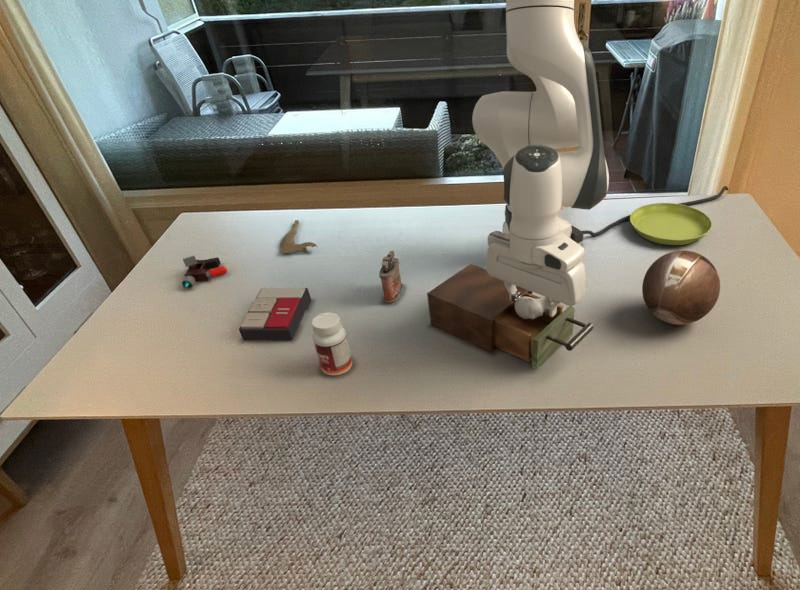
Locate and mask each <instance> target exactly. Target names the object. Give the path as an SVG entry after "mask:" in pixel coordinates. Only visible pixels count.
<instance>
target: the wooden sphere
mask: <svg viewBox="0 0 800 590" xmlns="http://www.w3.org/2000/svg"><path fill="white" fill-rule="evenodd" d="M641 292H642V298H643V301H644V303H645V306H646V307H647V309H648V310H649V311H650V313H651V314H652V315H653V316H654V317H656V318H657V319H658V320H660V321H662V322H664V323H667V324H671V325H677V326H678V325H679V326H680V325H689V324H693V323H695V322H698V321H699V320H701V319H703V318H704V317H705V316H707V315H708V314H710V312H711V311H712V309H714V307H715V306H716V304H717V301H718V299H719V296H720V292H721V280H720V276H719V273H718V269H716V267H715V265H714V264H713V263H712V262H711V260H709V259H708V258H707V257H705V256H704V255H702V254H701V253H698V252H695V251H691V250H684V249H683V250H674V251H670V252H668V253H665V254H663V255H661V256H660V257H658V258H657V259H656V260H654V261H653V262H652V264H651V265H650V266H649V267H648V269H647V270H646V272H645V274H644V277H643V280H642V287H641Z"/></svg>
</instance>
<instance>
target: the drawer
mask: <svg viewBox="0 0 800 590" xmlns="http://www.w3.org/2000/svg"><path fill="white" fill-rule="evenodd" d="M525 296H526V297H531V298H534V299H539V298H541V297H540V296H538V295H535V294H533V293H532V294H530V293H527V294H526V295H525ZM563 307H564V306H563V305H561V304H559V305H558V306H557V312H556V314H555V315H554V316H553V317H551V316H548V315H546V314H545V312H543V315H542V316H539V317H537V318H535V319H529V318H528V319H523V318H521V317H520V316H519V315H518V314H517V313H516V311H515V304H514V305H512V306H511V307H510V308H509V309H507V310H506V311H505V312H504V313H502V314H501V315H500V316H499V317H498V318H496V319H495V320H494V321H493V346H495V347H497V348H498V349H500V350H502V351H504V352H506V353H509V354H510V355H512V356H515V357H517V358H519V359H522V360H524V361H526V362H530V360H531V368H534V369H538V368H540V367H541V366H542V365H543V364H544V363H545V362H546V361H547V360H548V359H549V358H550V357H551V356H552V355H553V354H554V353H556V351H557V350H558V349H559V348H560V347H561V346H563V347H565V349H566V350H567V351H569V352H571V351H573V350H574V349H575V348H576V347H577V346H578V345H579V344H580V343H581V342H582V341H583V340H584V339H585V338H586V337H587V336H588V335H589V334H590V333H591V332H592V331H593V330H594V324H593V323H591V322H587V323H584V322H582V321H579V320H577V319H575V311H576V307H574V306H569V305H568V307H567V308H566V309H565V310H564V311H563ZM574 325H576V326H579V327H581V329H580V330H579V331H578V332H576V334H575V335H574V336H573V334H574ZM572 336H573V337H572ZM571 337H572V338H571ZM570 338H571V339H570ZM569 339H570V340H569ZM568 340H569V341H568ZM567 341H568V342H567Z"/></svg>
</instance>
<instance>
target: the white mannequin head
mask: <svg viewBox="0 0 800 590" xmlns="http://www.w3.org/2000/svg"><path fill="white" fill-rule="evenodd" d="M550 303H551V299H550V298H548V297H545V296H543V297H540V298H539V299H534V298H531V297H526V296H523V297H520V298H518V299H517V300H516V302H515V311H516V313H517V314H518V315H519V316H520V317H521V318H523V319H528V318H529V319H535V318H537V317H539V316H542V315H543V312H546V311H545V308H546V307H547V306H549V304H550ZM551 304H553V303H551Z"/></svg>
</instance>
